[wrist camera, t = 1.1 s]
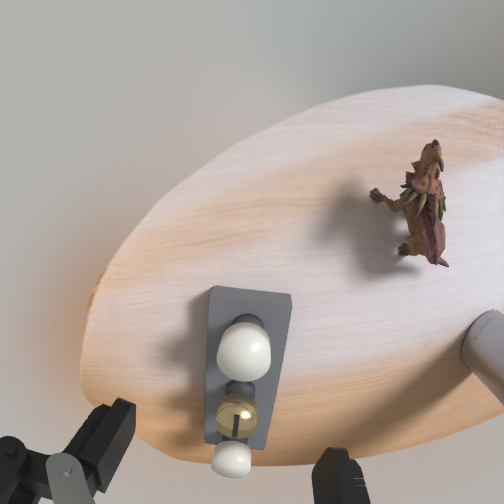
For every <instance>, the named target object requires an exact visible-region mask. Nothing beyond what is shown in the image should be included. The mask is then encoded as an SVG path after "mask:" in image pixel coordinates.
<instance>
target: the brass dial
mask: <svg viewBox="0 0 504 504" xmlns="http://www.w3.org/2000/svg"><path fill="white" fill-rule="evenodd" d="M257 415H258V406H257V403H256V402H255V400H254V399H252V398H251V397H249V396H247V395H244V394H229V395H227V396H225V397H223V398H222V399H221V401H220V403H219V407H218V412H217V416H216V421H215V426H216V428H217V430H218V431H219V432H220V433H222V434H223V435H225V436H228V437H231V438H245V437H248V436H251V435H252V434H253V433H254V432H255V431H256V429H257Z"/></svg>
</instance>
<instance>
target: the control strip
mask: <svg viewBox="0 0 504 504" xmlns="http://www.w3.org/2000/svg"><path fill="white" fill-rule="evenodd" d="M291 310H292V301H291V296H290V294H284V293H274V292H265V291H256V290H247V289H239V288H230V287H222V286H214V288H213V290H212V292H211V294H210V297H209V314H208V334H207V357H206V386H205V443H207V444H214V445H217V444H219V443H221V442H224V441H237V442H241V443H244V444H246V445H247V446H248V447H249V448H250V449H256V450H264V448H265V444H266V439H267V435H268V430H269V426H270V421H271V417H272V412H273V407H274V402H275V397H276V392H277V387H278V382H279V377H280V372H281V367H282V362H283V356H284V351H285V345H286V340H287V334H288V328H289V322H290V316H291ZM241 322H248V323H253V324H256V325H258V326H260V327H261V328H263V329H264V330H265V331H266V333H267V334H268V336H269V338H270V349H271V363H270V367H269V369H268V371H267V372H266V373H265V374H264V375H263V376H262V377H260V378H259V379H256V380H253V381H248V382H242V381H236V380H233V379H231V378H229V377H227V376H226V375H225V374H224V373H223V372H222V371H221V370H220V369H219V367H218V364H217V352H218V349H219V346H220V342H221V339H222V336H223V334H224V332H225V331H226V330H227V329H228V328H229V327H230V326H232V325H234V324H237V323H241ZM229 394H244V395H247V396H249V397H251V398H252V399H254V400H255V402H256V403H257V406H258V415H257V429H256V431H255V432H254V433H253V434H252V435H251V436H248V437H245V438H231V437H228V436H225V435H223V434H222V433H220V432H219V431H218V430H217V428H216V426H215V421H216V416H217V412H218V407H219V403H220V401H221V399H222V398H223V397H225V396H227V395H229Z"/></svg>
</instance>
